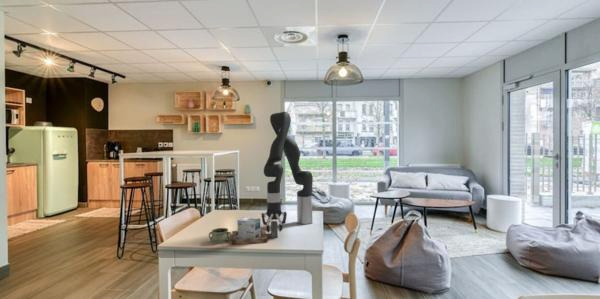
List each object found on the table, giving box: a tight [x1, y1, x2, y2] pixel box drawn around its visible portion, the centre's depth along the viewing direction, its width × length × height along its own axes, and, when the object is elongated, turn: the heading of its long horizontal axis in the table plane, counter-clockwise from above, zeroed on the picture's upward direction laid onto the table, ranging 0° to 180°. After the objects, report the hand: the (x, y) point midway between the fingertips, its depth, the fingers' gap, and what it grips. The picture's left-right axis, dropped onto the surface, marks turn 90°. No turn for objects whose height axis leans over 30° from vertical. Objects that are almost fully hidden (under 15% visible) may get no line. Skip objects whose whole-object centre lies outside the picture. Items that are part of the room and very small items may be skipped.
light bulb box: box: [237, 217, 262, 239], centre depth 168 cm, size 11×7×11 cm, turn 71°
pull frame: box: [231, 220, 279, 246], centre depth 169 cm, size 24×18×8 cm
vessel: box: [208, 227, 232, 245], centre depth 163 cm, size 12×9×6 cm
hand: (274, 231), depth 171 cm, fingers open, 5 cm apart
